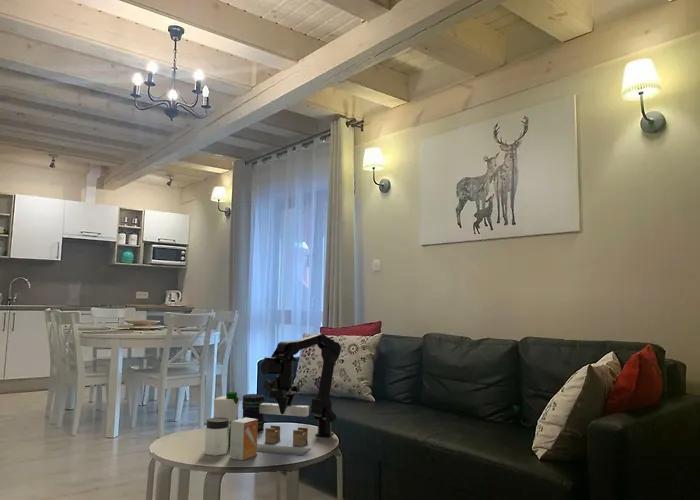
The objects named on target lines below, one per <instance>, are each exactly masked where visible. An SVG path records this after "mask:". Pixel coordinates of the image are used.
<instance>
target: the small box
mask: <svg viewBox="0 0 700 500" xmlns="http://www.w3.org/2000/svg"><path fill="white" fill-rule="evenodd" d="M257 431H258V419H253V418H246V417H245V418H243V417H242V418H238V419H237V420H234V421H231V437H230V447H229V459H234V460H240V461H245V460H246V459H249V458H253V457H255V456H257V454H258V452H257V444H258V432H257Z"/></svg>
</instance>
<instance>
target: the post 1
mask: <svg viewBox="0 0 700 500" xmlns="http://www.w3.org/2000/svg"><path fill="white" fill-rule="evenodd" d="M264 431H265V433H264V443H265V444H267V443H268V444H276V443H277V442H279V441H280V440H281V425H270V427H265V429H264Z"/></svg>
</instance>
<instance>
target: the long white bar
mask: <svg viewBox="0 0 700 500" xmlns="http://www.w3.org/2000/svg"><path fill="white" fill-rule="evenodd" d="M259 413H263V414H264V415H278V416H279V415H280V416H291V417H303V418H306V417H308V416H309V415H310V405H299V404H291V405H286V408H285V411H284V414H281V413H280V409H279V405H278V403H272V402H271V403H270V402H265V403H262V404H260V407H259Z"/></svg>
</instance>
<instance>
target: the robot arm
mask: <svg viewBox="0 0 700 500" xmlns="http://www.w3.org/2000/svg"><path fill="white" fill-rule="evenodd" d="M313 346H317V348H319V350H321V354H320V355H321V359H322V361H323V362H322V368H321V375H320V381H319V387H318V393H317V396H315V398H314V397H313V398H312V400H311V406H310V410H311V414H312V416H313V419H314V420H316V421H317V433H316V434H314V435H315V437H323V438H324V437H326V438H330V437H332V436H333V435H334V433H335V432H333V431H332V423H333V422H335V421H336V418H337V415H336V414H335V412H334V411H333V409H332V407H333V406H332V400H331V398H330V396H331V388H332V383H333V382H332V381H333V375H334V369H335V363H336V362H337V360H338V359H339V358H340V354H341V351H342V347H341V346H342V345H340V343H339V342H337V341H335V340H334V339H331V338H329V337H328V336H327V335H326V334H324V333H314V334H313V335H312V334H311V335H310V336H309V335H308V336H305V337H303V338H299V339H296V340H288V341H287V340H286V341H280V342H278V343H277V345H276V348H275V350H274V351H273V353H272V354H271V357H267V356H265V357H263V361H262V362H261V365H260V372H261V374H262V375H263V376H270V375H272V376H274V375H277V376H275V379H274V380H272V381H271V380H270V379H267V380H264V381H263V384H262V385H263V386H262V388H263V389H265V392H268V398H269V399H274V400H276V401H277V404H278V405H279V409H280V413H281V414H284V411H285V408H286V405H292V403H293V401H294V399H295V397H296V396H297V394H298V393H301V387H300V385H299V384H293V380H294V378H295V375H293V363H295V362H298V360H297V359H296V358H295V356H296V355H297V354H298V353H299V352H300V351H301V350H304V349H308V348H310V347H313ZM294 392H295V393H294ZM296 393H297V394H296Z"/></svg>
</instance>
